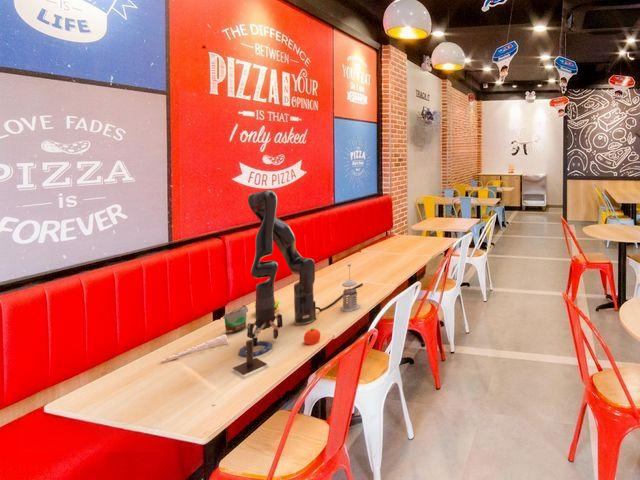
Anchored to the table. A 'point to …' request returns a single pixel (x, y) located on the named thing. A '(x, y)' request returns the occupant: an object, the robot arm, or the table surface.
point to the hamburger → (276, 303)
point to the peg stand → (249, 361)
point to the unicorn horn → (200, 347)
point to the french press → (352, 295)
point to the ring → (267, 345)
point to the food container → (236, 320)
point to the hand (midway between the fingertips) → (265, 341)
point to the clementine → (312, 336)
